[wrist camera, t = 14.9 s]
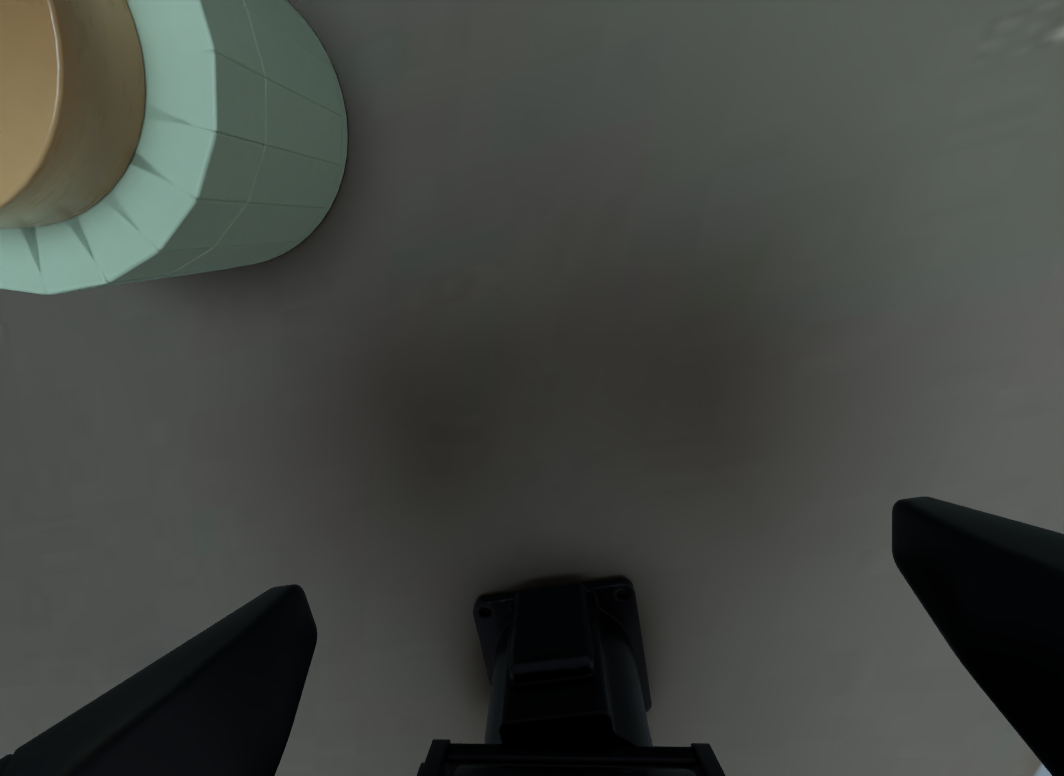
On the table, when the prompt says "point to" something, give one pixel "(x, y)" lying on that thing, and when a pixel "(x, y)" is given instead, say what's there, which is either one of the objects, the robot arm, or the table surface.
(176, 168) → the jar
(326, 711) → the table surface
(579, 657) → the robot arm
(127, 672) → the table surface
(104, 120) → the stopper
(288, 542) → the table surface
